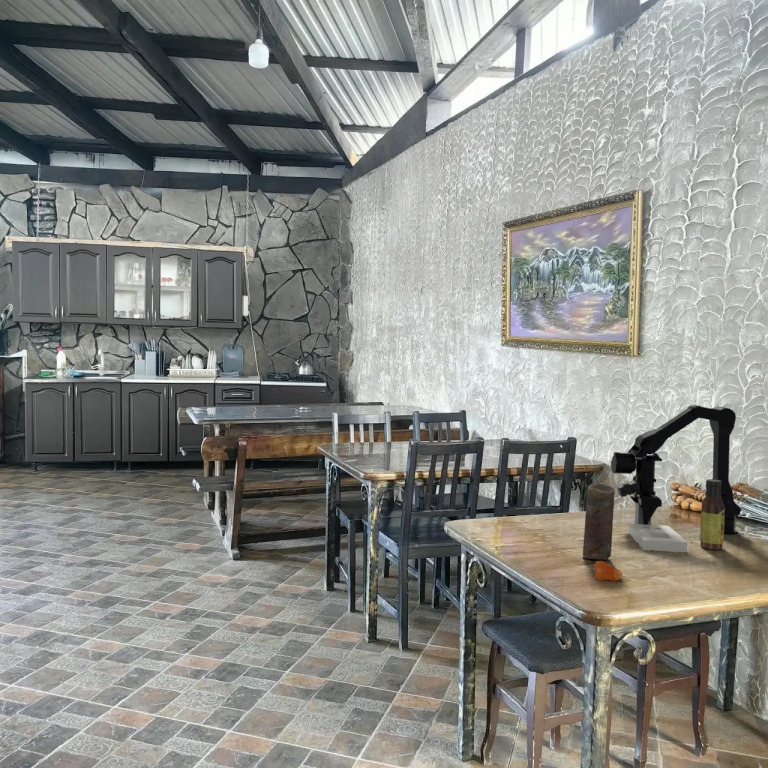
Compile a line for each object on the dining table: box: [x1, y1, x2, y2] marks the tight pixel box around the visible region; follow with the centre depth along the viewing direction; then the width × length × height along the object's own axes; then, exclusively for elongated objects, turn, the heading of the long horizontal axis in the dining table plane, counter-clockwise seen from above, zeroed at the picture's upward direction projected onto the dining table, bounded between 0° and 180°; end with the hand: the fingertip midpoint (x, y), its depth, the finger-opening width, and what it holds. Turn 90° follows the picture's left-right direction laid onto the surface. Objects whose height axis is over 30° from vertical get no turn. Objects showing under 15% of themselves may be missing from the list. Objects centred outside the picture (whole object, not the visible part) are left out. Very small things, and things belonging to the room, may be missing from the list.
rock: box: [594, 560, 623, 582], centre depth 176 cm, size 12×12×4 cm
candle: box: [582, 483, 616, 562], centre depth 191 cm, size 8×7×20 cm
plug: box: [634, 502, 652, 525], centre depth 225 cm, size 4×4×8 cm
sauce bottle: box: [699, 478, 725, 551], centre depth 205 cm, size 7×6×20 cm
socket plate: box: [627, 523, 688, 553], centre depth 209 cm, size 18×12×3 cm, turn 174°
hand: (642, 522), depth 225 cm, fingers open, 6 cm apart
